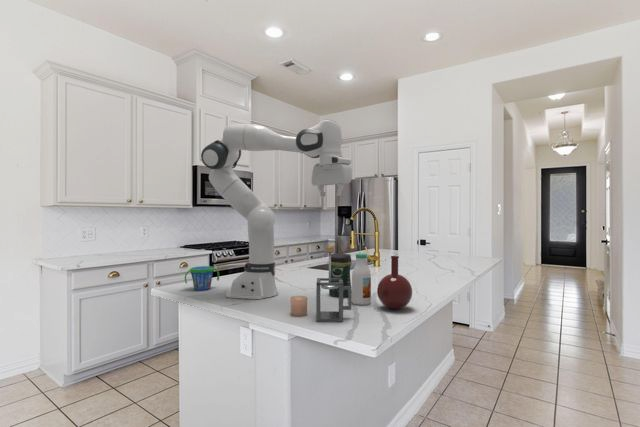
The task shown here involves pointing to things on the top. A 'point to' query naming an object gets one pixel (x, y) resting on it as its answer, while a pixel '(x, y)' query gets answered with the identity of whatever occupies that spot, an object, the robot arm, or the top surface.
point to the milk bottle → (361, 281)
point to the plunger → (329, 250)
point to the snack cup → (202, 277)
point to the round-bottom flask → (394, 288)
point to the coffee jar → (340, 272)
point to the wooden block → (298, 306)
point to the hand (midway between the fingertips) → (330, 196)
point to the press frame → (335, 315)
